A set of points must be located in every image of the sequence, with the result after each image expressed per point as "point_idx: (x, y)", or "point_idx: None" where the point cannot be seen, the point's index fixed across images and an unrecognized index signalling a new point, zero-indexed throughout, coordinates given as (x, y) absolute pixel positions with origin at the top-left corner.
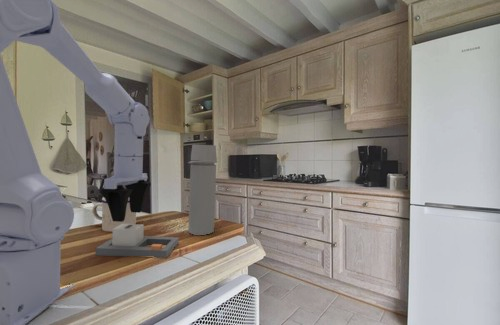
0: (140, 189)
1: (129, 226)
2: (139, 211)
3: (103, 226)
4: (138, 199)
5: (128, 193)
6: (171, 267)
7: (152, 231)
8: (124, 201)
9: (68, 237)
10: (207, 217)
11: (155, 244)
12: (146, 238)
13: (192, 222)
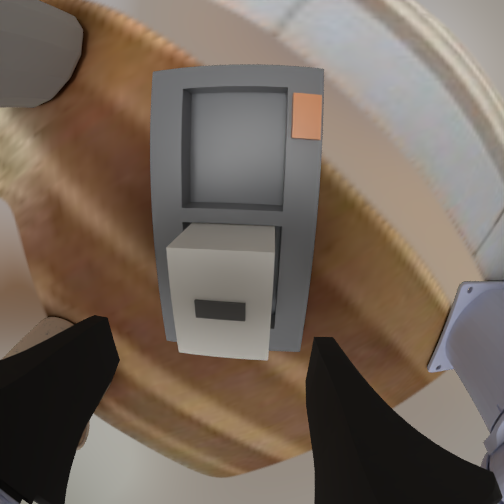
0: (12, 429)
1: (223, 306)
2: (104, 321)
3: (104, 393)
4: (60, 382)
5: (438, 489)
6: (370, 54)
7: (55, 249)
8: (417, 432)
9: (171, 429)
10: (34, 2)
11: (299, 123)
12: (180, 213)
13: (38, 66)
